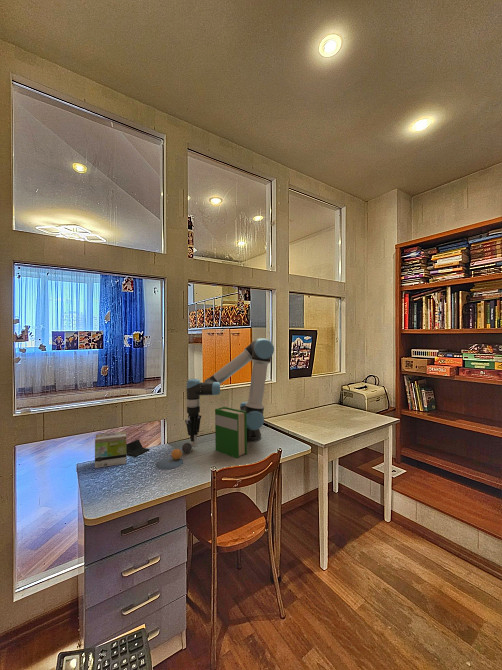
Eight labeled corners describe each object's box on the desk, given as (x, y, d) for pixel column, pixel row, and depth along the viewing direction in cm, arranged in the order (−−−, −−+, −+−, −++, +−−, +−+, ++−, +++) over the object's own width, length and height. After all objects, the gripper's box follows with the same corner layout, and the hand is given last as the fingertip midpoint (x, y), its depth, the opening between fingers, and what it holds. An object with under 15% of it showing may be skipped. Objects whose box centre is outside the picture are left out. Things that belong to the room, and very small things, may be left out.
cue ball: (187, 443, 171) (186, 454, 170) (194, 442, 176) (193, 452, 175) (180, 442, 174) (179, 453, 173) (186, 441, 178) (186, 451, 177)
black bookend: (139, 454, 168) (130, 438, 171) (129, 462, 169) (121, 446, 172) (151, 450, 179) (143, 435, 182) (142, 457, 180) (134, 442, 183)
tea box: (94, 469, 154) (94, 440, 154) (95, 461, 164) (95, 434, 163) (126, 463, 160) (126, 435, 160) (126, 456, 170) (125, 430, 169)
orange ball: (183, 448, 166) (177, 452, 161) (184, 458, 167) (177, 462, 162) (175, 446, 169) (169, 450, 164) (176, 456, 169) (169, 460, 164)
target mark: (188, 460, 163) (188, 460, 163) (171, 471, 151) (171, 471, 151) (168, 456, 169) (168, 455, 169) (149, 466, 157) (149, 466, 157)
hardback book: (246, 454, 171) (246, 411, 171) (237, 458, 165) (237, 414, 165) (224, 446, 183) (224, 406, 182) (215, 450, 177) (215, 409, 177)
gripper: (194, 402, 186) (195, 441, 187) (181, 407, 175) (181, 449, 175) (205, 404, 183) (205, 443, 183) (191, 409, 171) (192, 451, 172)
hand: (193, 446), depth 179 cm, fingers closed
